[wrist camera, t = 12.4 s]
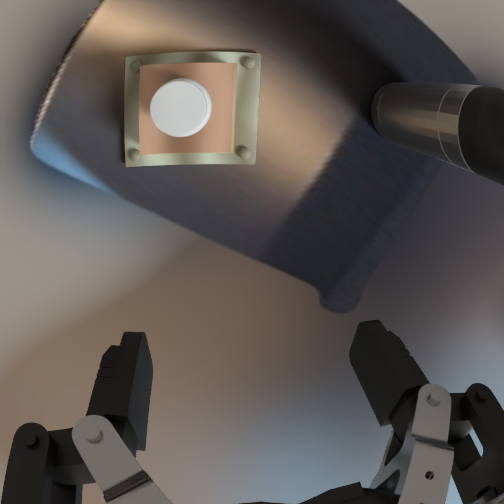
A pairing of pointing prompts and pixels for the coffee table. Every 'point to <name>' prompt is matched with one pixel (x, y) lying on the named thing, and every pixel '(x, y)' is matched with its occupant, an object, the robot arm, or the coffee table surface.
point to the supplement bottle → (181, 107)
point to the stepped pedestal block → (222, 115)
